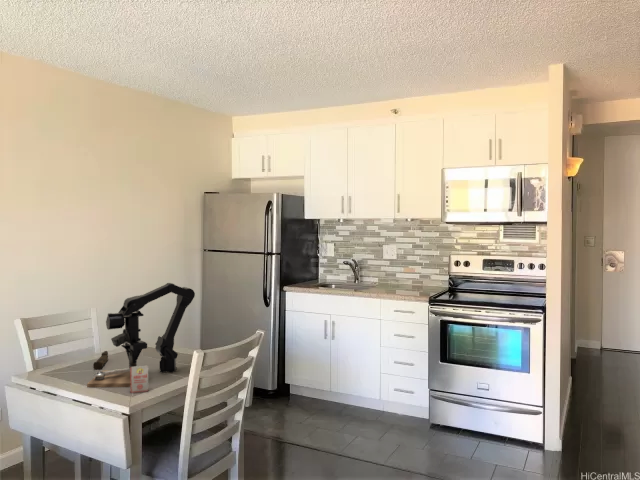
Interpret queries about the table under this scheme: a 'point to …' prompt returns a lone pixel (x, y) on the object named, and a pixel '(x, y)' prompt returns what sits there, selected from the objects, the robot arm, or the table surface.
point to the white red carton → (139, 379)
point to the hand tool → (101, 361)
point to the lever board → (111, 380)
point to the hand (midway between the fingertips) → (132, 362)
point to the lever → (131, 364)
